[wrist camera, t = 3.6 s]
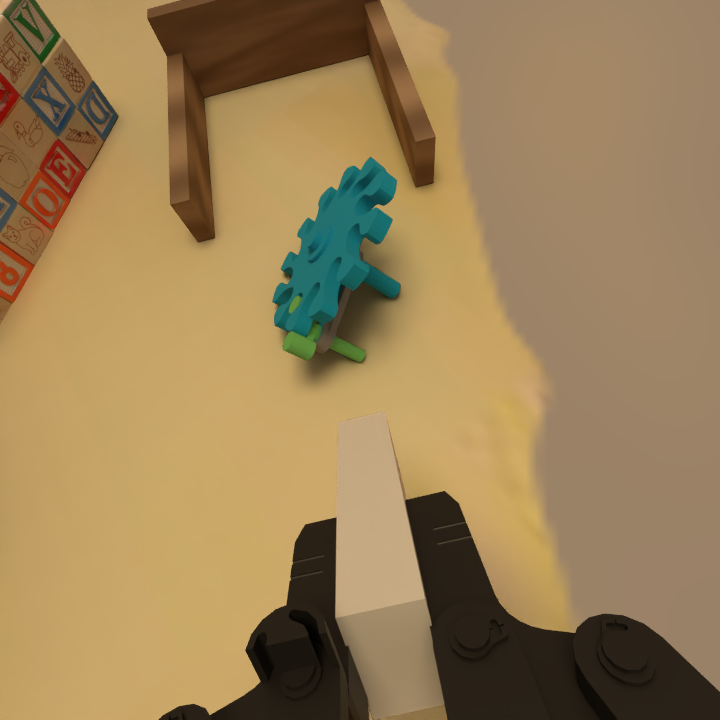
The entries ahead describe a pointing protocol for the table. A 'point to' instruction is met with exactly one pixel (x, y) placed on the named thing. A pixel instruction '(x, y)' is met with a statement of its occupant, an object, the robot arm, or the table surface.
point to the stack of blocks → (40, 136)
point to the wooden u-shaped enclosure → (271, 75)
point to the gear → (334, 263)
